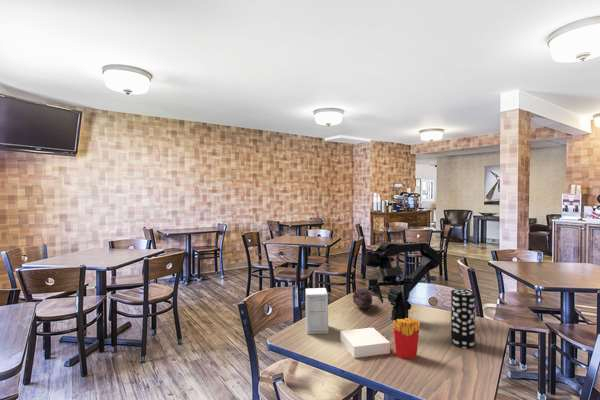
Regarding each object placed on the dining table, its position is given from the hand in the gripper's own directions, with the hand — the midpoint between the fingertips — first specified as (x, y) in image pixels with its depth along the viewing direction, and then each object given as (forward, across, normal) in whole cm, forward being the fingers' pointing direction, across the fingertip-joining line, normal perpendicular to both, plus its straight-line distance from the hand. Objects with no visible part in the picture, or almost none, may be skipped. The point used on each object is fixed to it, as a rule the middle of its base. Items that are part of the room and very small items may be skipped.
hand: (393, 302), depth 136 cm
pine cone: (-12, -8, +32) cm, 35 cm away
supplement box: (+5, -32, +13) cm, 35 cm away
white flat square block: (+17, -15, +1) cm, 22 cm away
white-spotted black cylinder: (+16, +24, +4) cm, 29 cm away
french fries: (+22, -1, -3) cm, 22 cm away
